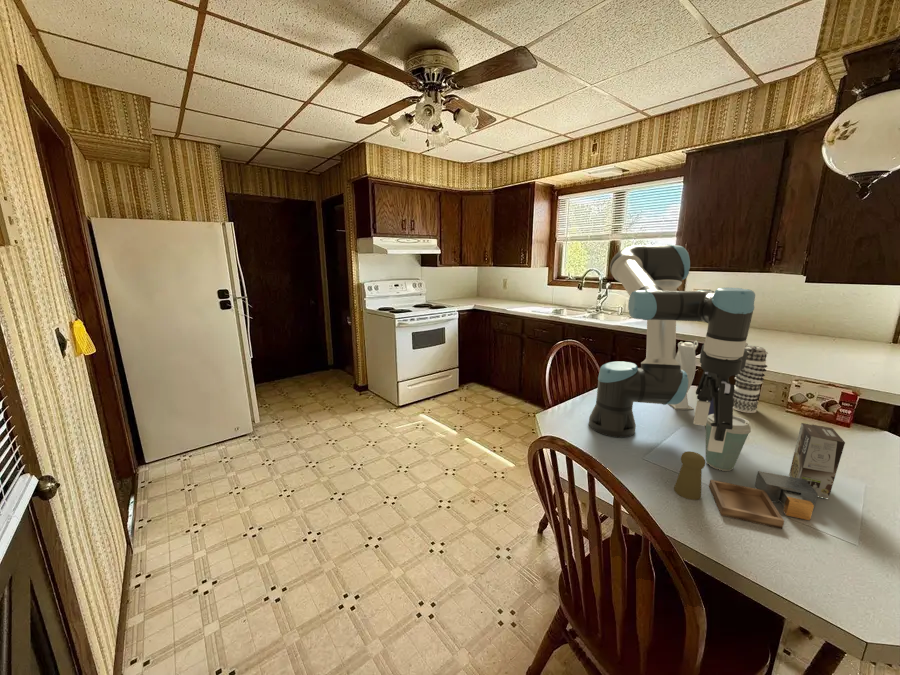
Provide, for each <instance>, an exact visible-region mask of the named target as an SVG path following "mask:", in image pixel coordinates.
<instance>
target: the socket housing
mask: <svg viewBox="0 0 900 675" xmlns="http://www.w3.org/2000/svg"><path fill="white" fill-rule="evenodd" d="M754 488H755V489H760V490H764V491H765V492H766V493H767V495H768V496H769V498H770V499H771V501H773V503H777V502H778V503H779V502H780V501H779V497H780V493H781V489H784V490H789V491H794V492H798V494H799V495H800V496H801V498H802V499H803V500H807V501H811V502H812V504H813V505H814V508H813V509H815V506H816V503H817V502H816V501H817V498H818V497H817V495H818V494H817V492H816V491H815V490H814V489H813V488H812V486H811V485H810V484H809V483H808V482H807V481H806V480H805V479H799V478H794V477H790V476H789V475H788V476H787V475H782V474H776V473H771V472H766V471H760V470H757V475H756V478H755V483H754Z"/></svg>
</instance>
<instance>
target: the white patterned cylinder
mask: <svg viewBox="0 0 900 675" xmlns="http://www.w3.org/2000/svg"><path fill="white" fill-rule="evenodd" d="M744 349H746V350H747V358H746V363H745V367H744V369H740V373H739V374H738V375H735V377H734V380H735V383H734V386H735V388H734V393H733V410H735V411H738V412H742V413H746V414H747V413H748V414H754V413H757V409H758V405H759V400H760V398H759V397H760V396H761V394H760V392H761V389H760V388H761V384H763V381H764V380H765V378H764V377H765V376H766V375H765V372H766V371H767V369H766V368H768V365H767V356H768V354H769V353H768V351H766V349H765V348H764V347H761V346H757V345H748V346H747V347H745V348H744ZM763 372H764V373H763Z"/></svg>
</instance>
